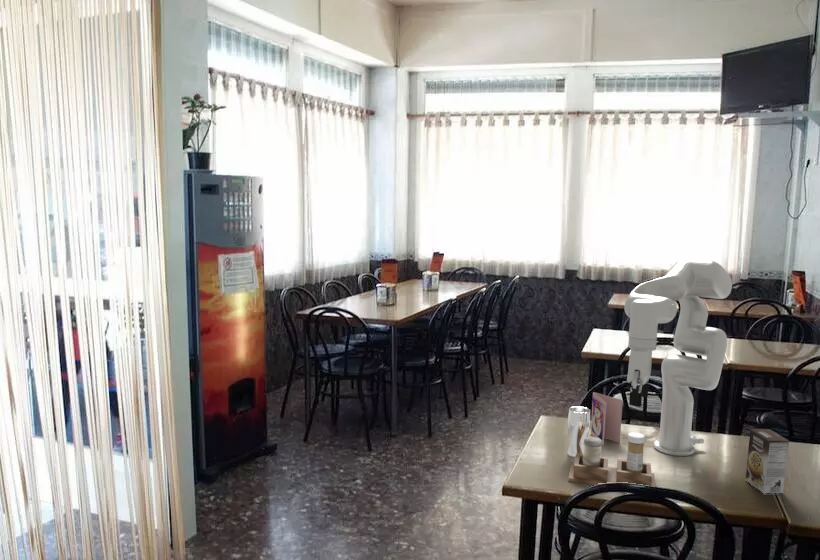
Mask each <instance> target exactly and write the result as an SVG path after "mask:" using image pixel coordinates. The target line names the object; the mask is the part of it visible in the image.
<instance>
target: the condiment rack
mask: <svg viewBox="0 0 820 560" xmlns="http://www.w3.org/2000/svg"><path fill="white" fill-rule="evenodd" d="M601 442H602V441H601V439H599V438H596V437H594V436H588V437H585V438H584V448H583V454H577V453H576V458H574V462H573V461H571V464H570V469H569V473H568V479H567V480H568V482H571V483H578V484H579V483H580V484H584V485H585V484H586V485H593V486H595V485H594V484H598V483H607V482H628V483H636V484H643V485H649V486H656V479H655V473H652V465H651V464H652V463H650V462H644V461H643V466H642V473H637V472H630V471H626V470H627V459H619V458H617V459H616V461H617V462H616V467H610V466H609V457H606V456H601V455H602V444H601Z"/></svg>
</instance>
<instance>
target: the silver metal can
mask: <svg viewBox="0 0 820 560" xmlns="http://www.w3.org/2000/svg"><path fill="white" fill-rule="evenodd" d="M567 416H568V417H567V431H568V440H569V441H568V442H569V445H568V449H567V455H568V456H569V457H571V458H574V457H575V458H576V453H577V454H583V448H584V438H585V437H589V434H590V431H591V409H589V408H588V407H584V406H580V405H579V406H570V407H569V409H568V415H567ZM575 458H574V459H575Z"/></svg>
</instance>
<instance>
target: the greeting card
mask: <svg viewBox="0 0 820 560" xmlns="http://www.w3.org/2000/svg"><path fill="white" fill-rule="evenodd" d="M591 399H592V400H591V401H592V403H591V405H592V406H591V417H590V435H592V437H596V438H599V439H601V441H602V442H601V446H603V447H604V445H605V443H604V442H605V438H607V439H606V440H608V439H609V441H611V440H612V442H614V441H615V443H617V442H618V444H621V434H622V433H621V432H622V431H621V429H622V418H623V417H622V416H623V402H624V400H623V399H620V398H616V397H612V396H608V395H605V394H602V393H599V392H595V391H593V392H592V397H591Z"/></svg>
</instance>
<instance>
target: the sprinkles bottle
mask: <svg viewBox="0 0 820 560" xmlns="http://www.w3.org/2000/svg"><path fill="white" fill-rule="evenodd" d="M645 439H646V437H645V434H643V433H641V432H637V431H635V432H634V431H633V432H629V433H628V436H627V441H628V445H627V453H626V454H627V455H626V460H627V470H626V471H630V472H637V473H642V466H643V462H644V445H645Z"/></svg>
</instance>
